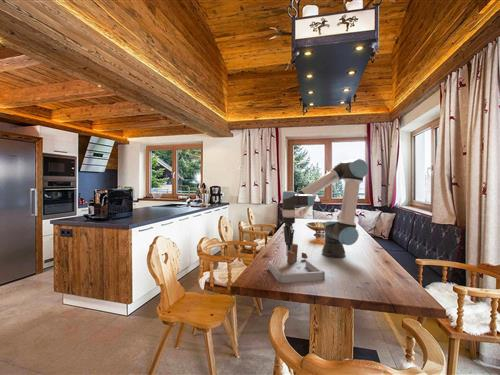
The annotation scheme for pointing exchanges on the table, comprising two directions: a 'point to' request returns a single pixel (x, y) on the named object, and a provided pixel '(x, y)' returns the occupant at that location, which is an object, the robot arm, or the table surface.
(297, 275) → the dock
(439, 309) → the table surface
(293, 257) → the wooden block set
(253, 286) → the table surface
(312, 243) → the table surface
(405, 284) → the table surface
